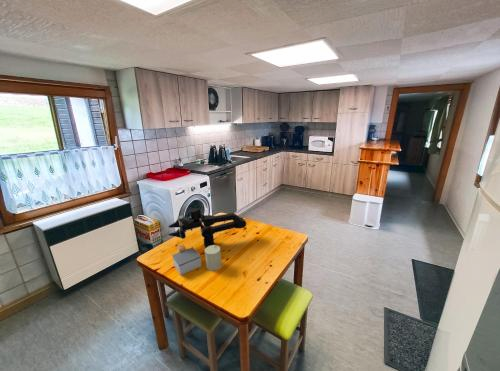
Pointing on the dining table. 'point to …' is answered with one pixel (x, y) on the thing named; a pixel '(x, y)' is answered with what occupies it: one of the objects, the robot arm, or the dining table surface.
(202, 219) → the robot arm
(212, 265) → the can
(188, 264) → the tub
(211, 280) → the dining table surface
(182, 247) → the lid
